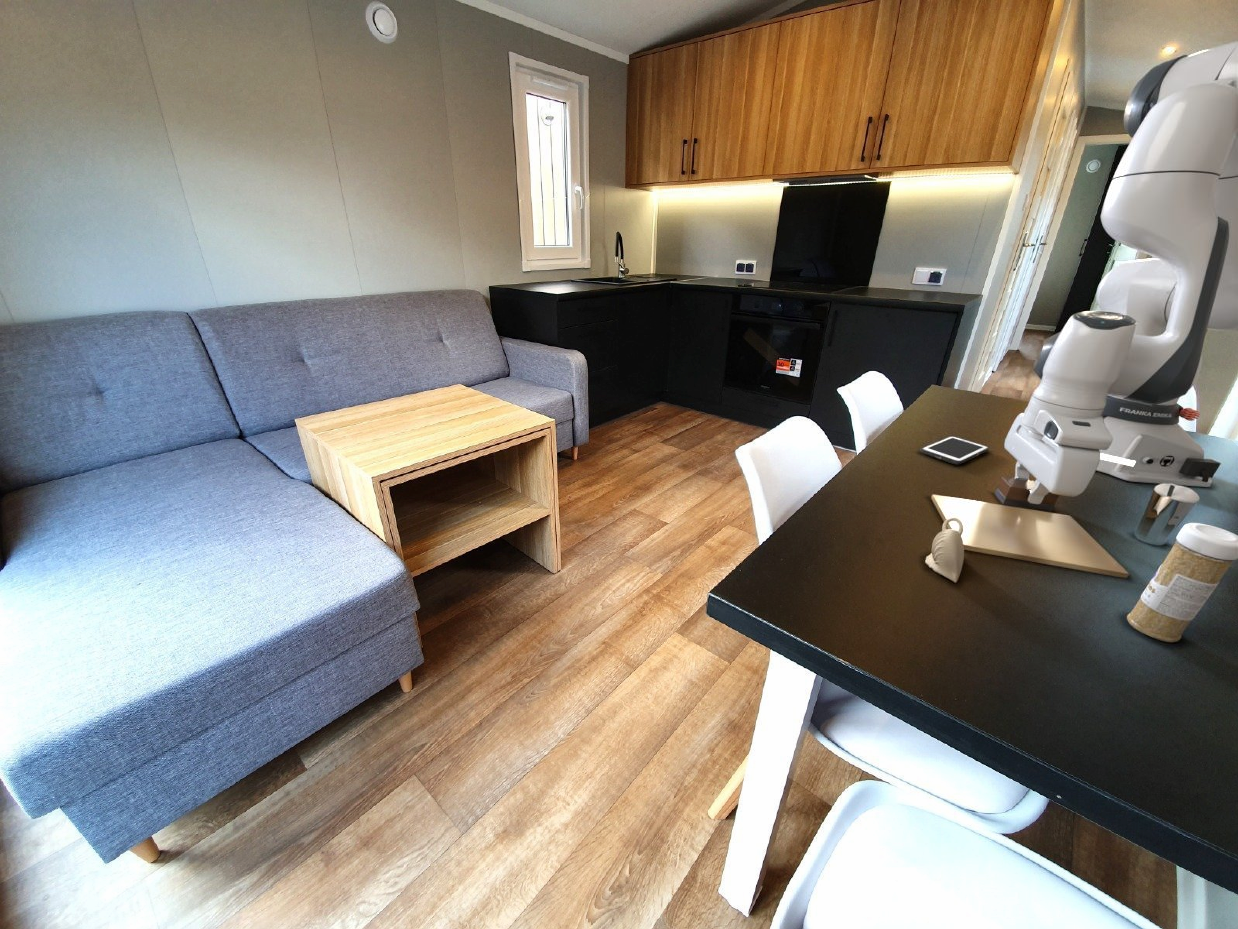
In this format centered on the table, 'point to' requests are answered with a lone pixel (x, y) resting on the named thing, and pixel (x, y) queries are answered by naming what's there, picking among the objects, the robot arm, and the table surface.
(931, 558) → the decorative ornament
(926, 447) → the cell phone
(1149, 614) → the sprinkles bottle
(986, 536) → the writing board
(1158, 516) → the silver metal cylinder
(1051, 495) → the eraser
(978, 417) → the table surface
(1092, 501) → the table surface
